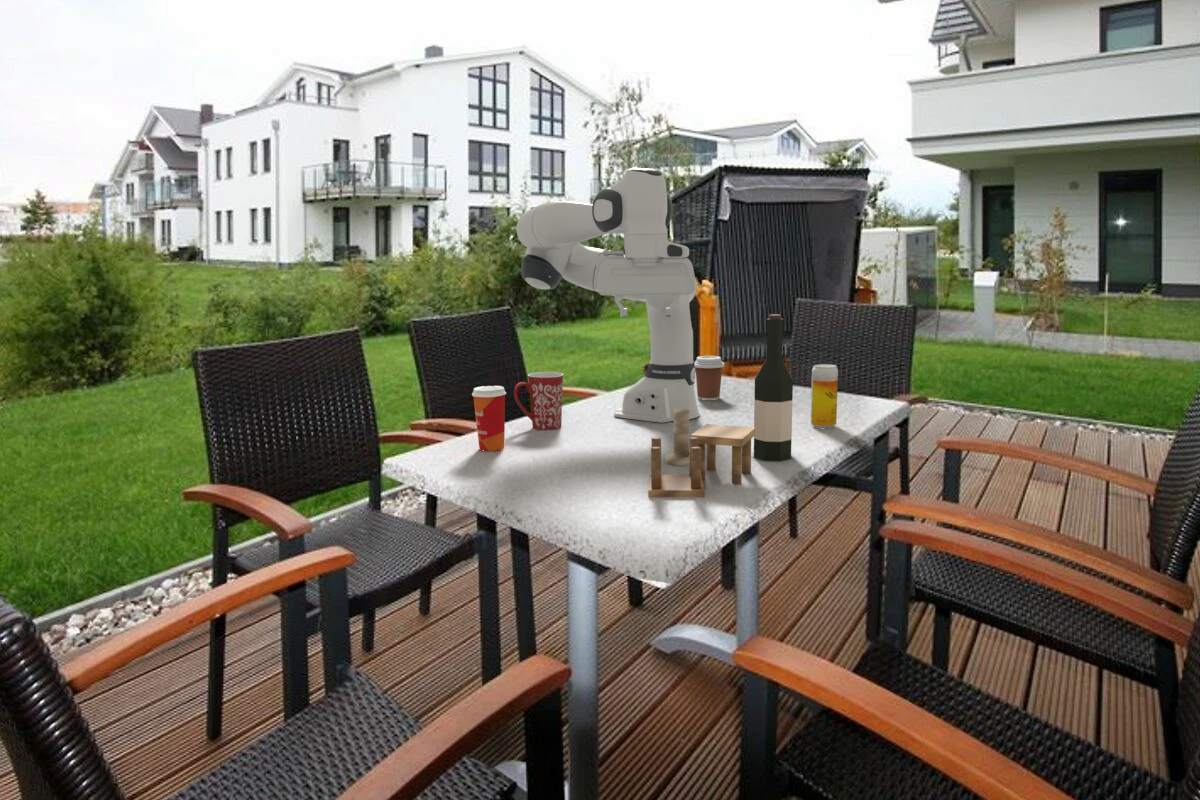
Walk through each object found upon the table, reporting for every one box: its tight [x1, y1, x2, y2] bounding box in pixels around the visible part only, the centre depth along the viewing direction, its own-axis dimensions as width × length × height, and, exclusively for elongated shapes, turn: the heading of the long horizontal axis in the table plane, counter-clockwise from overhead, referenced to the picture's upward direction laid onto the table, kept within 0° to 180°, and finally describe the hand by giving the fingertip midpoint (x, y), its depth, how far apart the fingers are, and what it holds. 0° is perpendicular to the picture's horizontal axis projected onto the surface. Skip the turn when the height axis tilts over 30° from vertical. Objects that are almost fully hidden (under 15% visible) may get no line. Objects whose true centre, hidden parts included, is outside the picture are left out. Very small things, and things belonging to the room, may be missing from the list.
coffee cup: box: [693, 355, 725, 401], centre depth 235 cm, size 9×9×12 cm
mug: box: [513, 371, 564, 431], centre depth 203 cm, size 13×9×14 cm
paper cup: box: [471, 385, 507, 452], centre depth 182 cm, size 8×8×14 cm
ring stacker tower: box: [665, 409, 690, 467], centre depth 168 cm, size 7×7×11 cm
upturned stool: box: [647, 436, 705, 498], centre depth 150 cm, size 10×10×9 cm
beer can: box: [810, 363, 839, 429], centre depth 196 cm, size 6×6×15 cm
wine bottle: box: [753, 313, 794, 462], centre depth 169 cm, size 8×8×30 cm
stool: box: [690, 423, 756, 485], centre depth 158 cm, size 10×10×9 cm
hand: (646, 316), depth 168 cm, fingers open, 8 cm apart
